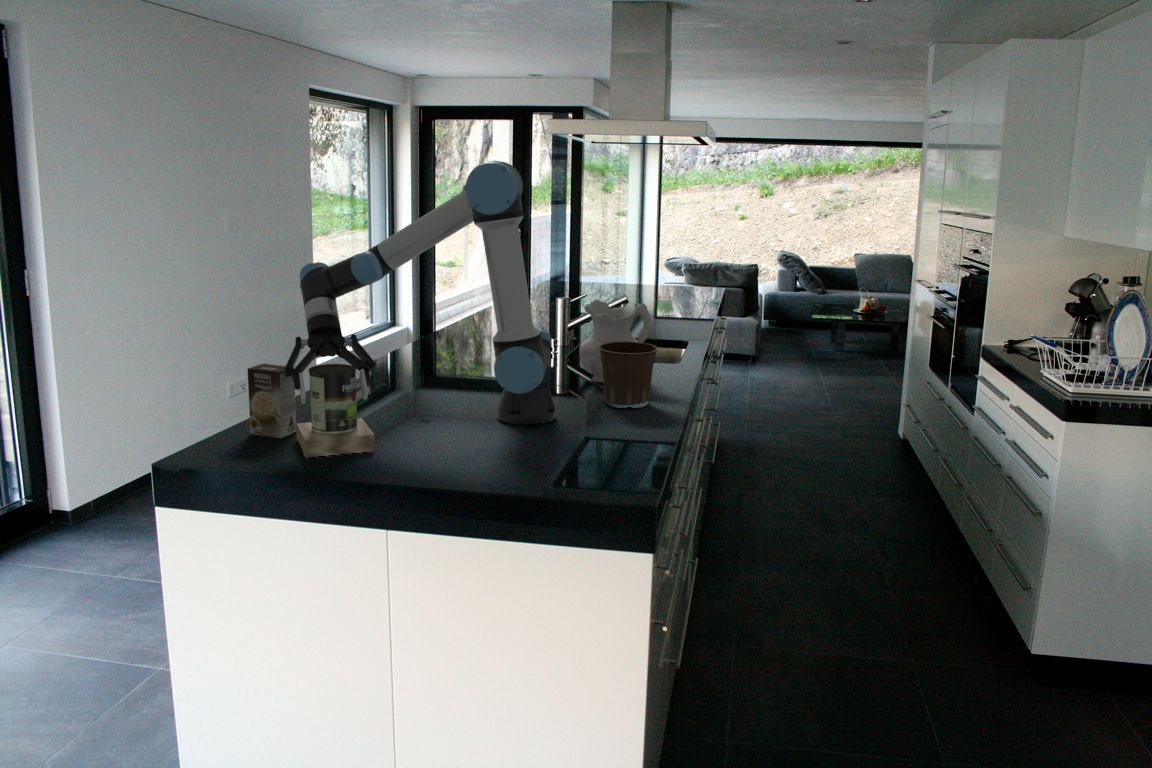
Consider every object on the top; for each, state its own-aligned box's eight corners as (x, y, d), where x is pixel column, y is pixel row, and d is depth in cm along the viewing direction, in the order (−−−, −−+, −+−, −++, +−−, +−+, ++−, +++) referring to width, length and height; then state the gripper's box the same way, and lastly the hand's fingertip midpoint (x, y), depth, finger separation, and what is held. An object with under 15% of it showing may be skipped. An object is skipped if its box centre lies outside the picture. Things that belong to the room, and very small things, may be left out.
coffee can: (365, 424, 219) (363, 365, 216) (345, 436, 210) (343, 374, 206) (323, 421, 221) (321, 362, 218) (302, 433, 212) (300, 371, 208)
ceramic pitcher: (653, 381, 295) (657, 301, 291) (644, 390, 276) (648, 304, 272) (586, 376, 300) (589, 297, 296) (571, 385, 281) (574, 301, 277)
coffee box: (248, 434, 224) (245, 368, 220) (266, 427, 229) (262, 363, 226) (281, 439, 221) (278, 371, 217) (298, 432, 227) (295, 366, 223)
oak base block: (362, 434, 226) (361, 418, 225) (374, 451, 212) (374, 434, 211) (297, 440, 220) (296, 423, 219) (305, 458, 207) (305, 440, 206)
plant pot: (639, 414, 250) (641, 355, 246) (586, 406, 258) (587, 348, 254) (665, 402, 264) (667, 345, 260) (613, 394, 272) (615, 339, 268)
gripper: (374, 328, 229) (388, 403, 219) (266, 333, 220) (276, 411, 210) (378, 310, 223) (393, 385, 213) (267, 313, 214) (277, 393, 204)
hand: (335, 398), depth 212 cm, fingers open, 13 cm apart
